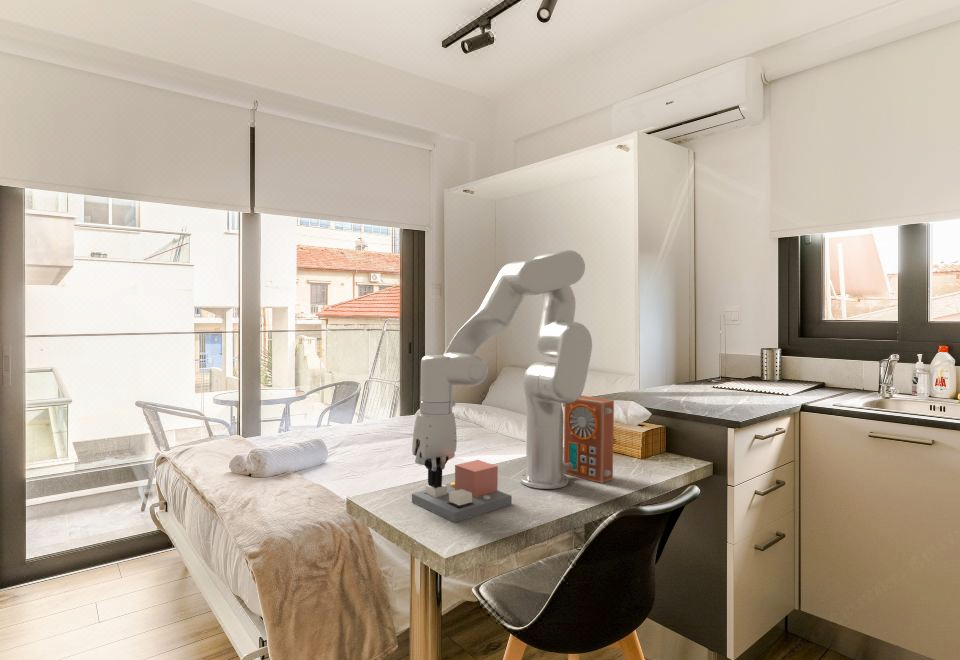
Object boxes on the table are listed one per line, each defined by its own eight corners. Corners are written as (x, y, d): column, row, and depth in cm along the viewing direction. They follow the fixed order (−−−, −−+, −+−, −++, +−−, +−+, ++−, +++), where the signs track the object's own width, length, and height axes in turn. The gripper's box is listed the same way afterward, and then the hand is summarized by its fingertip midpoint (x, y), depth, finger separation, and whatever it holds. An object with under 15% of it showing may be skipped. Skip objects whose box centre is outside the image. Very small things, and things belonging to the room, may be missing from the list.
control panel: (604, 485, 141) (558, 472, 152) (619, 479, 146) (573, 467, 157) (605, 403, 140) (559, 396, 151) (620, 400, 145) (574, 393, 156)
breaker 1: (437, 490, 131) (437, 482, 131) (447, 494, 128) (447, 486, 128) (425, 493, 128) (425, 485, 128) (434, 497, 126) (434, 489, 125)
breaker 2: (461, 497, 124) (461, 488, 124) (472, 501, 121) (472, 492, 121) (449, 501, 121) (449, 492, 121) (459, 505, 119) (459, 496, 119)
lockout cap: (477, 483, 135) (477, 459, 135) (497, 491, 130) (497, 466, 130) (454, 489, 131) (455, 465, 130) (474, 497, 125) (474, 471, 125)
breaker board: (467, 486, 139) (467, 476, 139) (511, 503, 127) (511, 492, 127) (411, 502, 128) (411, 491, 128) (454, 522, 116) (454, 510, 116)
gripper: (451, 402, 135) (450, 476, 136) (400, 409, 125) (399, 488, 126) (471, 407, 129) (469, 483, 130) (419, 413, 119) (417, 496, 120)
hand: (434, 485), depth 128 cm, fingers closed
